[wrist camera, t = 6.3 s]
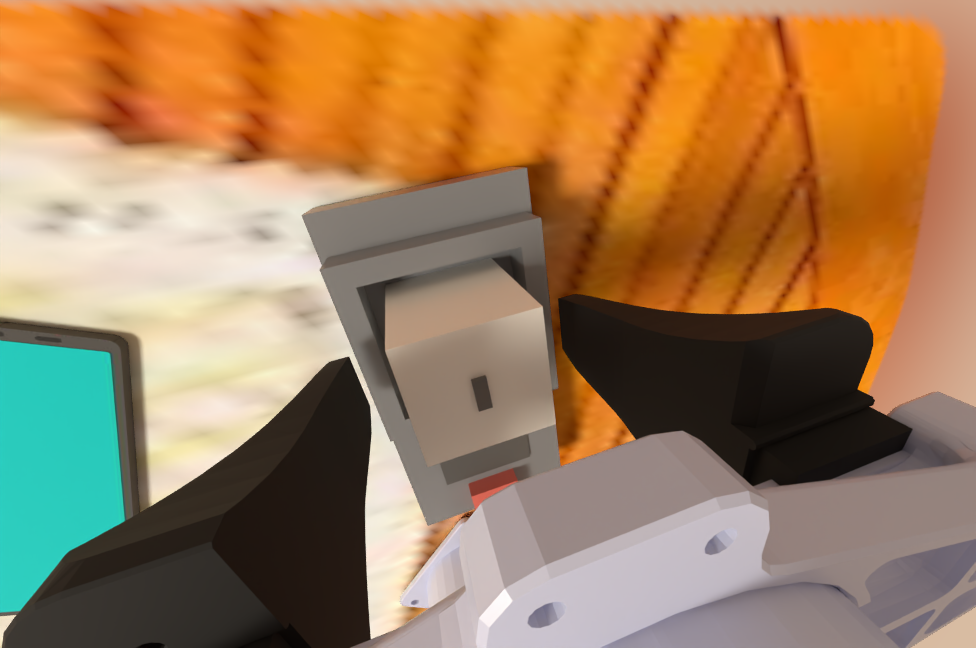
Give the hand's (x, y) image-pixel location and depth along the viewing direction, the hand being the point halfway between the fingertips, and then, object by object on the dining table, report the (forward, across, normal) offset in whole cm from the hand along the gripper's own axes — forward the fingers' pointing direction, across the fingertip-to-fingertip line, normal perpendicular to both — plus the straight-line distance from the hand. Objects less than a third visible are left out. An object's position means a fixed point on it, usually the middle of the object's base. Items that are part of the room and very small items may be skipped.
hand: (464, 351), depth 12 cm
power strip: (+4, 0, +5) cm, 6 cm away
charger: (+2, 0, 0) cm, 2 cm away
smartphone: (+5, +18, +3) cm, 19 cm away
